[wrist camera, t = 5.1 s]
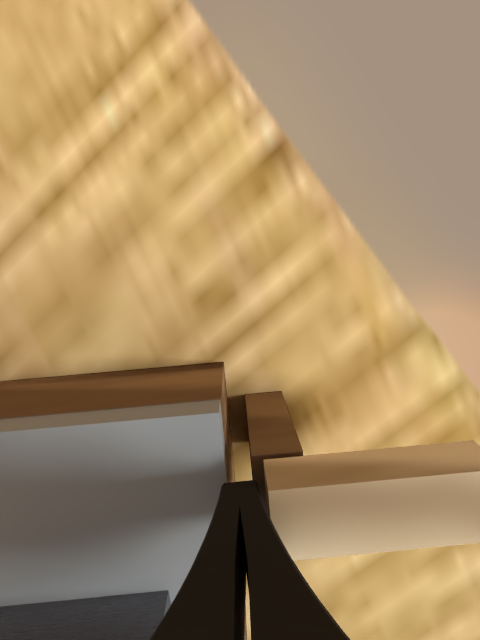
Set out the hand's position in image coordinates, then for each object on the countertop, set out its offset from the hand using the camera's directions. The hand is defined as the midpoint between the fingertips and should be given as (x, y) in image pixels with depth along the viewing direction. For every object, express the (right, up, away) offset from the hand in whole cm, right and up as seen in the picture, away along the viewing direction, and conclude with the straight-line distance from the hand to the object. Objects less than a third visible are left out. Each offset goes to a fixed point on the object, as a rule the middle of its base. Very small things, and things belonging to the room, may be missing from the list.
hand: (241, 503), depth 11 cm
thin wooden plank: (+5, +1, 0) cm, 5 cm away
